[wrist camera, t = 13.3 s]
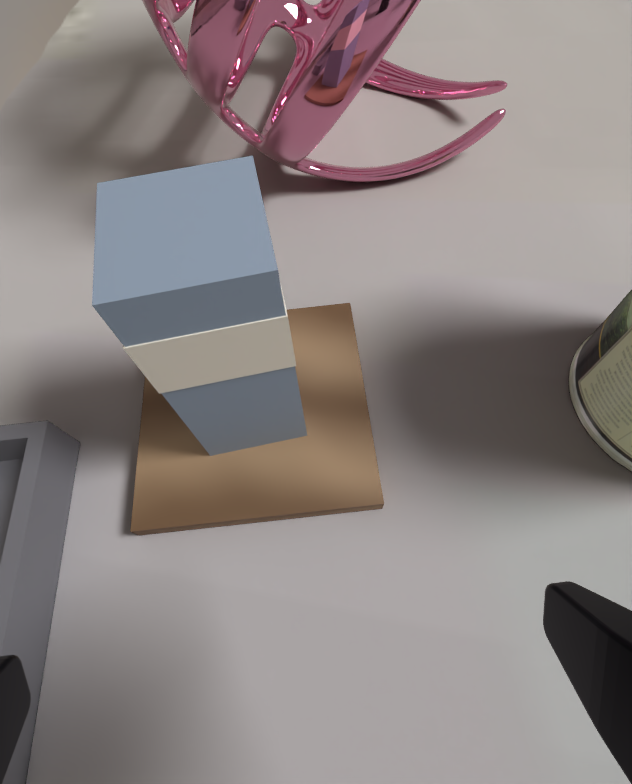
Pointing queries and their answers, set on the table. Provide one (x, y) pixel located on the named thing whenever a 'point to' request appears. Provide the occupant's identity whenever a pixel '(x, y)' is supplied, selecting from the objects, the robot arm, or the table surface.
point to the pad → (267, 447)
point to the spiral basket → (309, 73)
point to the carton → (200, 300)
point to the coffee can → (607, 384)
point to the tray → (31, 552)
